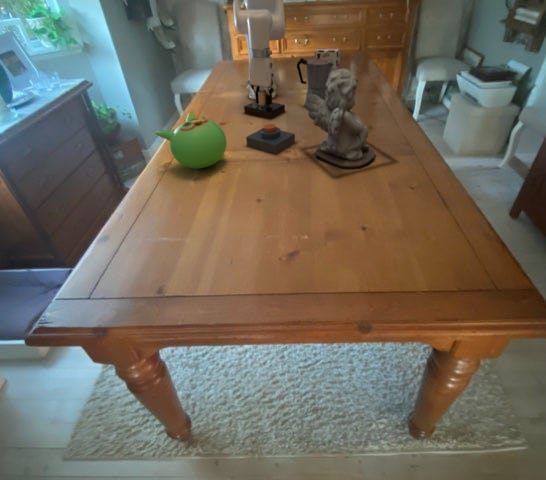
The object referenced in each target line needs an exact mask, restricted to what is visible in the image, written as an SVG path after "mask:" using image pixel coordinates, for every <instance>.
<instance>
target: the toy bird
mask: <svg viewBox="0 0 546 480" xmlns="http://www.w3.org/2000/svg"><path fill="white" fill-rule="evenodd" d="M155 135H156V136H158V137H160V138H162V139H164V140H167V141H169V148H170V152H171V154H172V156H173V158H174V159H175V160H176V161H177V162H178V163H179V164H180V165H181V166H183V167H186V168H189V169H196V170H197V169H205V168H208V167H211V166H213V165H215V164H216V163H218V162H219V161H220V160H221V158H222V157H223V156H224V154H225V153H226V149H227V143H228V141H227V137H226V134H225V132H224V130H223V129H222V127H221V126H220V125H219V124H218V123H216V122H214V121H213V120H210V119H206V118H197V117H196V115H195V112H194V110H189V112H188V113H187V116H186V120H185V122H182V123H181V124H179V125H178V126H177V127H176V128H175V129H161V130H157V131H155Z"/></svg>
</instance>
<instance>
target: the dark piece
mask: <svg viewBox="0 0 546 480" xmlns="http://www.w3.org/2000/svg"><path fill="white" fill-rule="evenodd" d="M245 140H246V146H247V147H249V148H253V149H256V150H259V151H264V152H267V153H271V154H274V155H278V154H279V153H281V152H282V151H284V150H286V149H287V148H289V147H291V146H292V145H293V144H295V143H296V134H295V133H292V132H289V131H284V130H281V129H280V128H279V127H277V126H276V132H273V133H266V132H264V127H262V128H261V129H259V130H256V131H255V132H253V133H251V134H249V135H247V136H245Z"/></svg>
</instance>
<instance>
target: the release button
mask: <svg viewBox="0 0 546 480" xmlns="http://www.w3.org/2000/svg"><path fill="white" fill-rule="evenodd" d="M276 127H277V125H275V124H273V123H269V124H265V125H264V126H263V128H264V132H266V133H273V132H276Z"/></svg>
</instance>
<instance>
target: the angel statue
mask: <svg viewBox="0 0 546 480" xmlns="http://www.w3.org/2000/svg"><path fill="white" fill-rule="evenodd" d="M358 82H359V80H358V77H357V76H356V75H355V74H354V72H352V71H351V70H349V69H348V68H345V67H344V68H340V69H337V70H334V71H333V72H331V74H330V76H329V78H328V80H327V82H326V90H325V100H323V99H321V98H320V97H318V96H316V95H314V94H309V95H308V103H307V107H306V109H307V110H308V117H309V118H310V119H311V120H313V124H314V126H316V127H319V129H320V130H322V131H324V132H325V133H327V138H326V139H325V140H323V141H322V143H321V144H319V146H318V147H317V148H316V150H315V152H314V158H315V159H317V160H319V161H321V162H323V163H325V164H328V165H329V166H330V165H331V166H333V167H336V168H339V169H341V170H360V169H364V168H366V167H369V166H370V165H371V164H372V163H374V162H375V161H376V157H377V155H376V152H375V150H373V149H372V147H371V146H370V145H369V144H367V143H366V142H365V141H366V140H367V139H368V137H369V129H368V127H367V125H364V122H363V121H362V119H361V117H359V116H358V115H357V113H355V112H353V111H351V110H352V109H353V108H354V107H355V105H356V99H355V96H356V90H357V88H358Z"/></svg>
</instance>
